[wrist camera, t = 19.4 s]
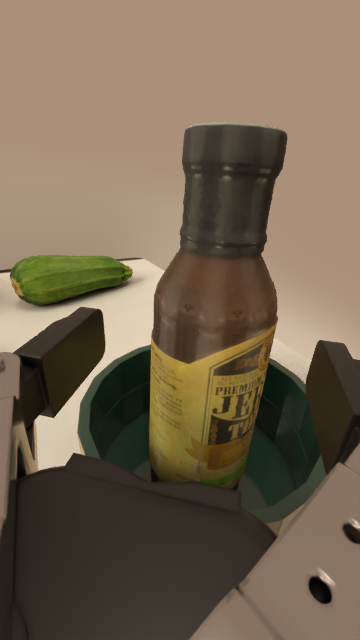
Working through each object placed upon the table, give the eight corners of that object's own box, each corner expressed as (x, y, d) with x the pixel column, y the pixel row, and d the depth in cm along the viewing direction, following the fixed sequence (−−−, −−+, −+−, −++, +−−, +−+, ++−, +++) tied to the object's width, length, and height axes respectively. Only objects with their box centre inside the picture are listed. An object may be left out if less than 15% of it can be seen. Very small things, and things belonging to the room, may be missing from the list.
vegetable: (2, 248, 41) (124, 235, 53) (5, 285, 46) (116, 266, 58) (22, 284, 38) (146, 262, 50) (23, 320, 43) (136, 291, 55)
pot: (246, 396, 28) (258, 333, 25) (355, 570, 16) (404, 490, 13) (94, 416, 25) (86, 347, 22) (84, 650, 13) (62, 571, 10)
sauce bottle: (212, 544, 16) (286, 103, 7) (129, 480, 19) (109, 117, 10) (256, 462, 21) (335, 134, 12) (184, 421, 24) (203, 137, 15)
